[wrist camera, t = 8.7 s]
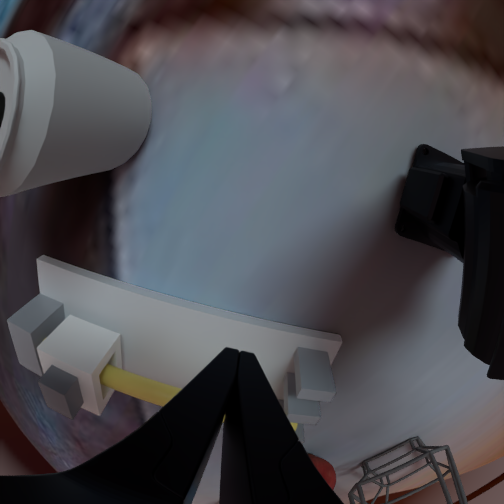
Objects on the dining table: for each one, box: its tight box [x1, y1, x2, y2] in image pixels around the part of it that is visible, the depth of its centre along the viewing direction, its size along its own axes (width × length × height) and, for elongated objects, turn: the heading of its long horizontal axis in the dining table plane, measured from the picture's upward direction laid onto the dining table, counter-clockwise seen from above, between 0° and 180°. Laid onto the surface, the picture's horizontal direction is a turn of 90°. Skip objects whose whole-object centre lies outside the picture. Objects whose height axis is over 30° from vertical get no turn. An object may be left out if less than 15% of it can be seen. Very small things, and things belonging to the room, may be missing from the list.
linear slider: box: [7, 255, 342, 444], centre depth 21 cm, size 26×12×6 cm, turn 77°
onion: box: [308, 454, 336, 490], centre depth 24 cm, size 6×6×8 cm
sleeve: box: [37, 315, 122, 420], centre depth 18 cm, size 5×5×7 cm
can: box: [0, 30, 152, 197], centre depth 11 cm, size 8×8×12 cm
